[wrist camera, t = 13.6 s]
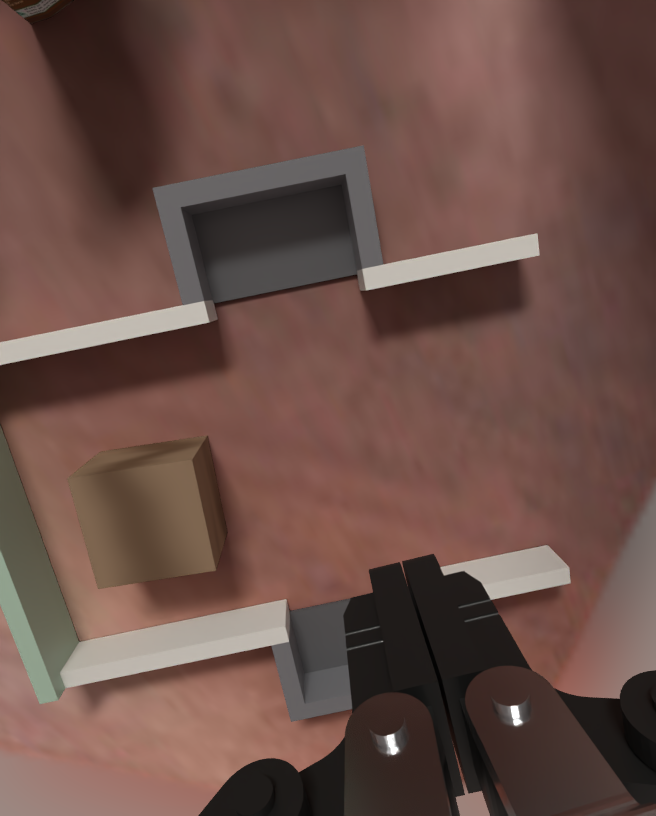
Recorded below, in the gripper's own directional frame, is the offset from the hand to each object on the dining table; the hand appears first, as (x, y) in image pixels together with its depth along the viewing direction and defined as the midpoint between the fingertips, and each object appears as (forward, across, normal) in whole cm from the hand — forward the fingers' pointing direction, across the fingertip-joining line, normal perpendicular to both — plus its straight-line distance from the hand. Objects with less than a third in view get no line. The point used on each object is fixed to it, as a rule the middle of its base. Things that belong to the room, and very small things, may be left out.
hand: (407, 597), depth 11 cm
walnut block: (+22, +13, +4) cm, 26 cm away
